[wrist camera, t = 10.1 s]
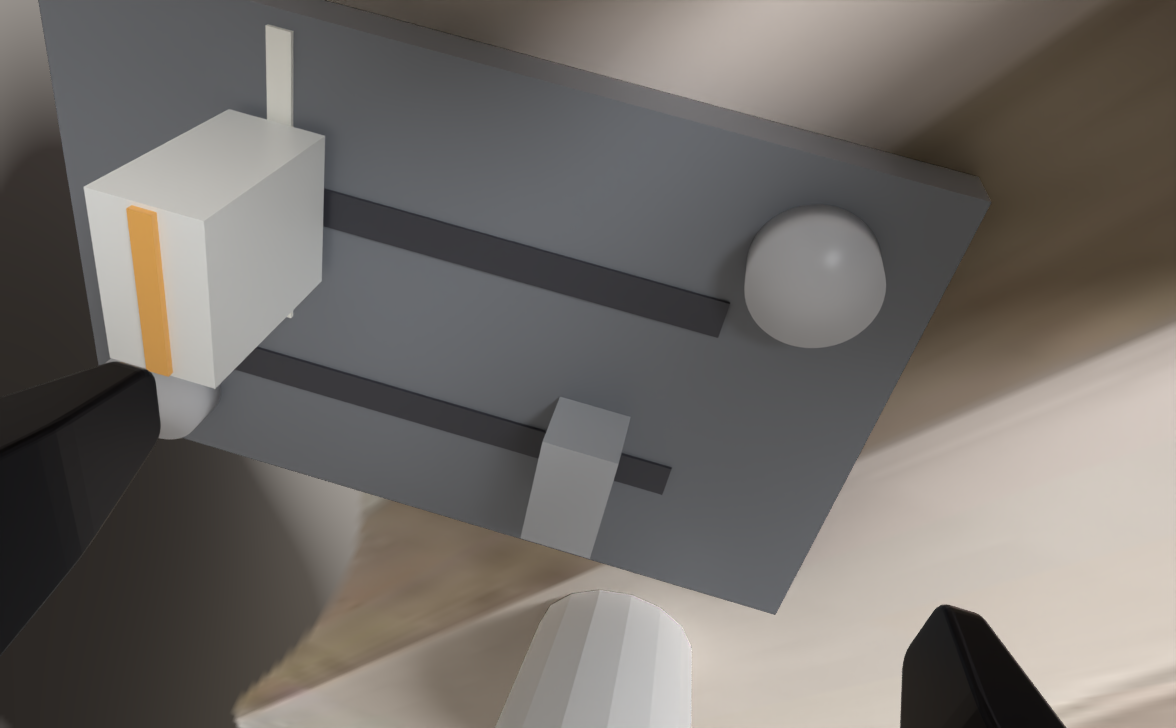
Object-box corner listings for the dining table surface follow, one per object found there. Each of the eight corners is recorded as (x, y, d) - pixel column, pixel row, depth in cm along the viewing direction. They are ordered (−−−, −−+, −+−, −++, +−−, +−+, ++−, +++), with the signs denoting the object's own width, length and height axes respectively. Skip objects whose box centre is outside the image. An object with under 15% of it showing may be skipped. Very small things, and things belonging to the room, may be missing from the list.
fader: (325, 135, 20) (198, 224, 16) (321, 281, 22) (211, 392, 18) (228, 109, 20) (77, 189, 16) (235, 256, 22) (105, 361, 18)
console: (978, 177, 19) (1012, 241, 16) (775, 578, 27) (774, 669, 24) (74, -68, 20) (-44, -47, 17) (136, 389, 28) (62, 454, 25)
